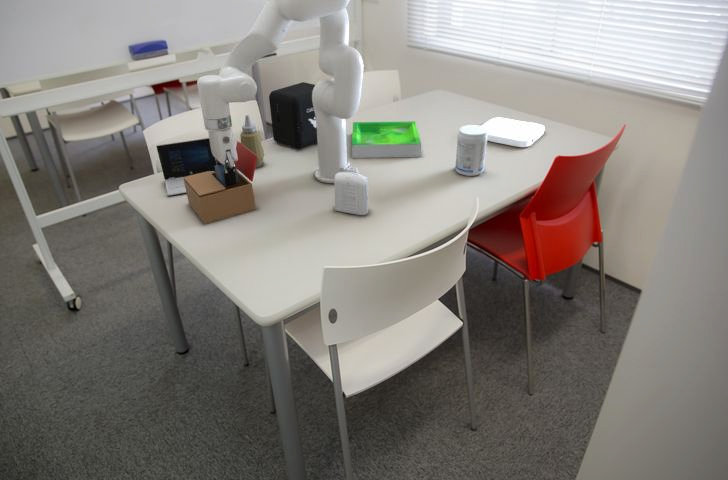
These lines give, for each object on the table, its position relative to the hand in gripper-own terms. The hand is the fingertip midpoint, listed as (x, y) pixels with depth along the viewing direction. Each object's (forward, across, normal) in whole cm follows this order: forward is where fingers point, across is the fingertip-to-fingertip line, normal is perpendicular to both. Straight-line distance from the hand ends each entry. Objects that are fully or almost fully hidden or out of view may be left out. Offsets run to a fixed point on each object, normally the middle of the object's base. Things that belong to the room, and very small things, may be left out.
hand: (227, 180), depth 154 cm
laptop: (+8, +21, +5) cm, 23 cm away
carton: (+8, 0, +3) cm, 9 cm away
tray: (+8, +14, -68) cm, 70 cm away
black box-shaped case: (+8, +36, -45) cm, 58 cm away
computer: (+8, -6, -114) cm, 115 cm away
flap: (-5, 0, -6) cm, 8 cm away
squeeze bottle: (+8, +25, -18) cm, 32 cm away
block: (0, 0, 0) cm, 0 cm away
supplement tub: (+8, -23, -77) cm, 81 cm away
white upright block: (+8, -25, -28) cm, 39 cm away
